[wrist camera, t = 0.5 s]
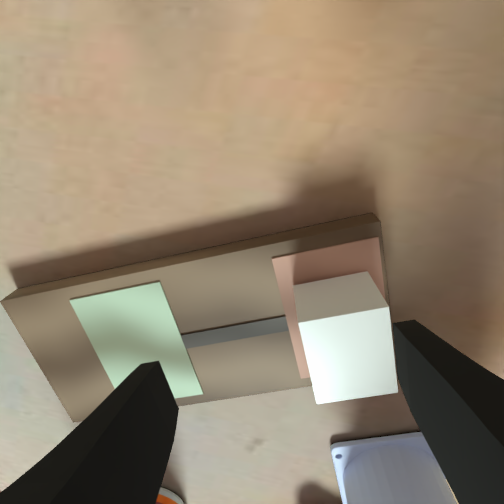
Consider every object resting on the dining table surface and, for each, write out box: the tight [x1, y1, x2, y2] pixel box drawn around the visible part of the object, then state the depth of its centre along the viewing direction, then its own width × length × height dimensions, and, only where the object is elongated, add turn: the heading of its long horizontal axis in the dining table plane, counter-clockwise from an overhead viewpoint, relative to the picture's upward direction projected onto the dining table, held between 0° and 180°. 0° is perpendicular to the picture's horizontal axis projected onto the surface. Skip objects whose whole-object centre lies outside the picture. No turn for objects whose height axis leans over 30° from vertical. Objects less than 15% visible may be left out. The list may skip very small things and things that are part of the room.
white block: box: [293, 271, 398, 404], centre depth 18 cm, size 5×4×4 cm
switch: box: [0, 213, 396, 422], centre depth 21 cm, size 10×22×2 cm, turn 104°
